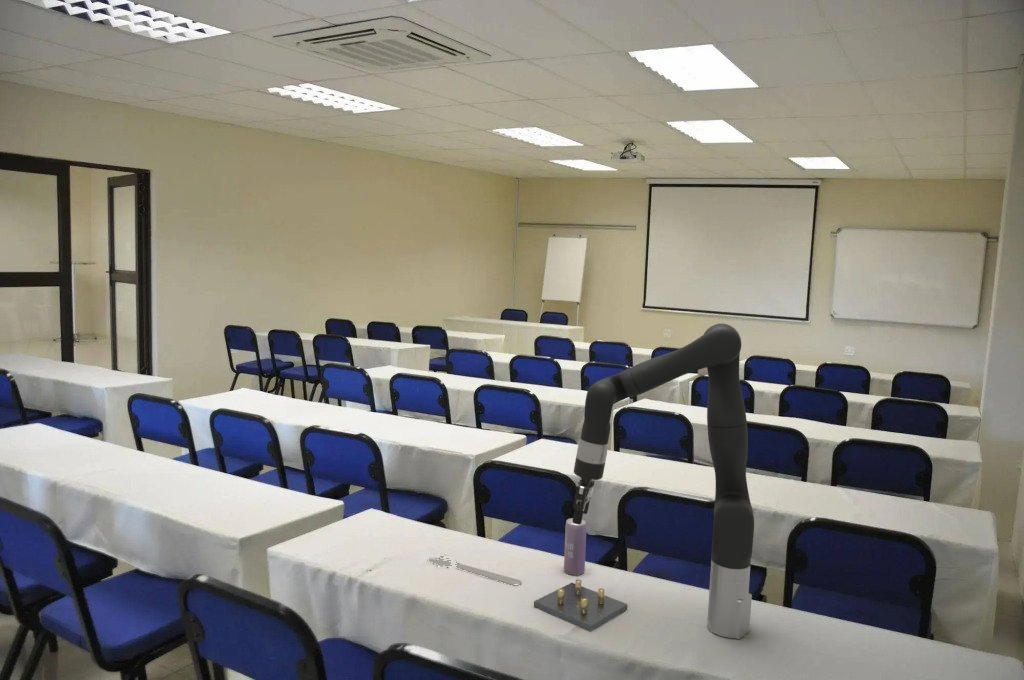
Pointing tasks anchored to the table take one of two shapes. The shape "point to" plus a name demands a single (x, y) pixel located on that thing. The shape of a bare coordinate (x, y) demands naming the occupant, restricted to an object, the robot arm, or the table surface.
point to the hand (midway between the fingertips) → (579, 518)
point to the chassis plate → (575, 607)
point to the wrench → (478, 572)
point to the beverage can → (575, 547)
